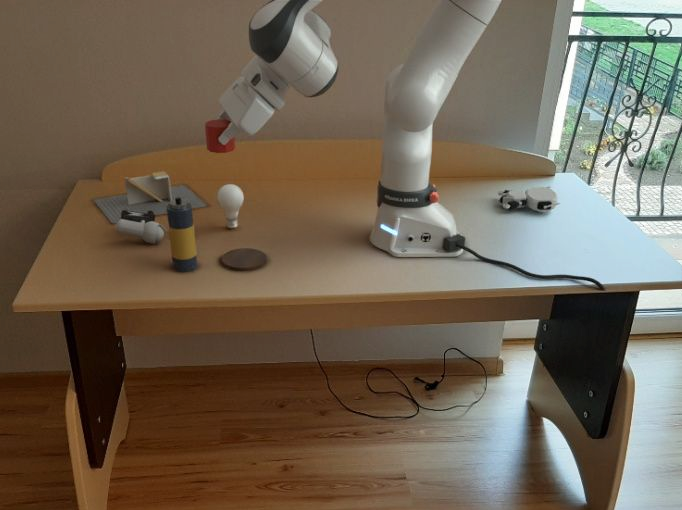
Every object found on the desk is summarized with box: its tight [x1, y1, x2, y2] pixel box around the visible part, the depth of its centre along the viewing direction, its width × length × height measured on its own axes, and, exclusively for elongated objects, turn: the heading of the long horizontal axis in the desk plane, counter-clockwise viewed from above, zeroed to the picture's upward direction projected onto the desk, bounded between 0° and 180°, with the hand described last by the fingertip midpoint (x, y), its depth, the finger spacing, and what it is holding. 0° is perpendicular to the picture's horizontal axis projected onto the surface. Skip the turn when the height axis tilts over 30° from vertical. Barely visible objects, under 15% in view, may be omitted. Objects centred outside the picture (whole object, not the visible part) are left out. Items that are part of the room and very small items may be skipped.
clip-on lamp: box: [115, 210, 169, 245], centre depth 162 cm, size 12×6×18 cm
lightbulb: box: [216, 183, 245, 230], centre depth 166 cm, size 6×6×11 cm
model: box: [124, 170, 173, 205], centre depth 179 cm, size 3×11×8 cm, turn 121°
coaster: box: [221, 247, 268, 272], centre depth 154 cm, size 10×10×1 cm
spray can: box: [166, 197, 198, 273], centre depth 147 cm, size 5×5×16 cm
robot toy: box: [497, 185, 561, 213], centre depth 184 cm, size 12×4×15 cm
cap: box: [204, 119, 236, 154], centre depth 138 cm, size 6×6×5 cm
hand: (217, 136), depth 138 cm, fingers closed on cap, 5 cm apart
